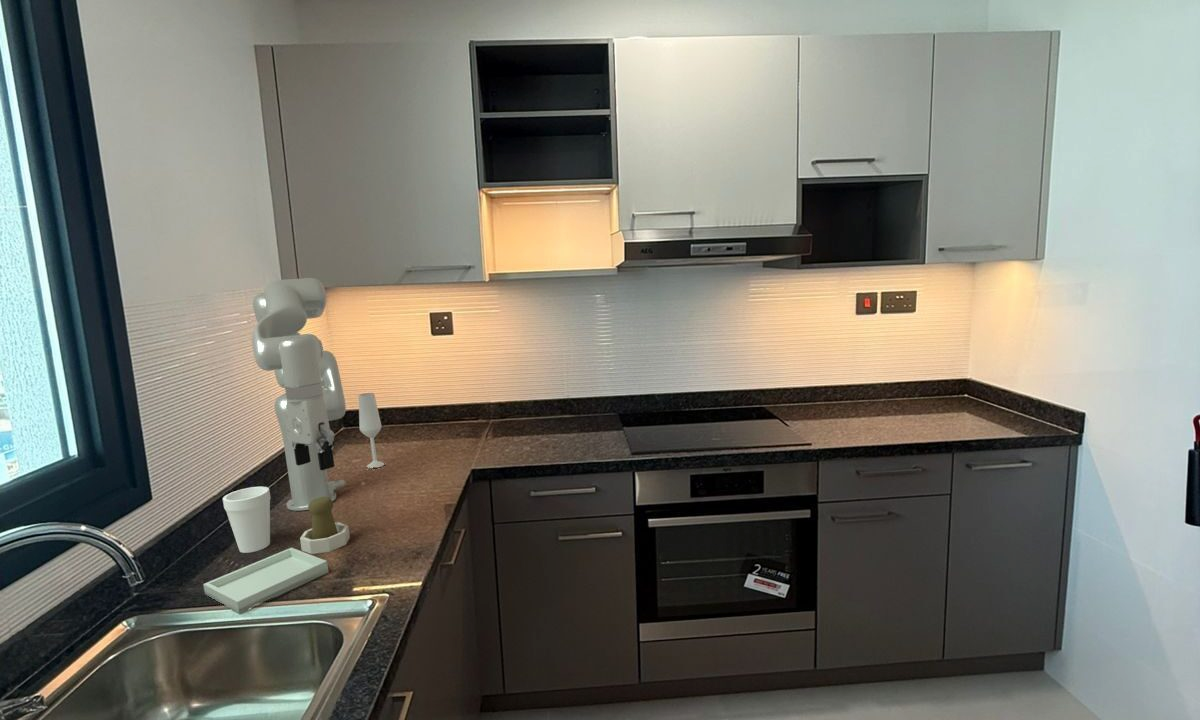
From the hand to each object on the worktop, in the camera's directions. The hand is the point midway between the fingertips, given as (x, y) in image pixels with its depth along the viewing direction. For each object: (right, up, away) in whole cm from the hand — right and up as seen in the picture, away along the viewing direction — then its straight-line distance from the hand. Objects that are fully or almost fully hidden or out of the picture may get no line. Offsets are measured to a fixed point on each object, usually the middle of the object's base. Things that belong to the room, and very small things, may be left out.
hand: (315, 466), depth 142 cm
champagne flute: (-9, -11, +62) cm, 63 cm away
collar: (+1, -19, +3) cm, 19 cm away
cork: (+1, -19, +3) cm, 19 cm away
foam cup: (-16, -20, +5) cm, 26 cm away
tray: (-3, -22, -15) cm, 26 cm away
